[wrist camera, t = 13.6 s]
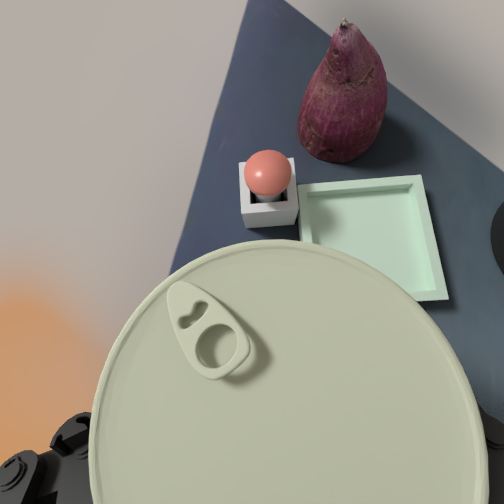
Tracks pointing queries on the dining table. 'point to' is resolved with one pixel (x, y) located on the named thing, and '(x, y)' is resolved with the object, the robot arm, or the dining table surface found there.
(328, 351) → the can
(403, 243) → the tray
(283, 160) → the button
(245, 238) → the dining table surface
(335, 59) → the vegetable
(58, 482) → the robot arm
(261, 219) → the button post
